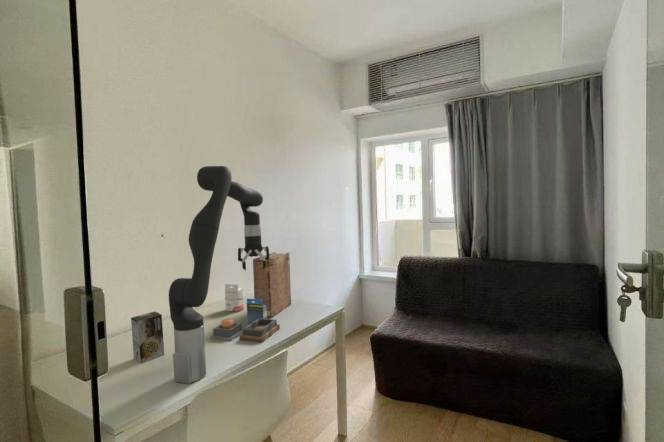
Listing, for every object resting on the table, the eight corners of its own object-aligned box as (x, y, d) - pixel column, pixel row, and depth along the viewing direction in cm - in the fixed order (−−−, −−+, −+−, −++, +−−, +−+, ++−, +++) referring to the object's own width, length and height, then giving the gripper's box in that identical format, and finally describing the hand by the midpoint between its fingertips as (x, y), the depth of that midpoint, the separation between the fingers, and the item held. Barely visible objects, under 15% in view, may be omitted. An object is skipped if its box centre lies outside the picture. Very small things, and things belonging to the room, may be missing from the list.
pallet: (262, 342, 145) (262, 331, 144) (239, 339, 148) (239, 329, 148) (279, 328, 160) (279, 319, 160) (258, 326, 163) (258, 317, 163)
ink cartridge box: (244, 309, 192) (242, 282, 192) (239, 311, 188) (238, 284, 187) (230, 308, 195) (229, 282, 194) (225, 310, 190) (224, 284, 189)
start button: (229, 330, 151) (229, 322, 151) (219, 329, 152) (218, 321, 152) (236, 326, 156) (235, 318, 156) (226, 325, 157) (225, 318, 157)
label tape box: (267, 322, 170) (266, 297, 169) (263, 324, 166) (262, 299, 165) (251, 320, 172) (250, 296, 172) (247, 323, 168) (246, 298, 168)
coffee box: (157, 350, 139) (155, 311, 138) (164, 354, 135) (162, 313, 134) (132, 358, 132) (130, 317, 131) (140, 363, 128) (137, 320, 127)
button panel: (231, 340, 147) (231, 331, 147) (209, 338, 151) (209, 329, 151) (245, 331, 158) (245, 322, 158) (224, 329, 161) (224, 320, 161)
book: (276, 303, 202) (274, 252, 200) (291, 304, 199) (289, 252, 198) (254, 317, 178) (252, 259, 176) (271, 318, 175) (269, 259, 173)
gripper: (236, 236, 156) (238, 272, 157) (268, 234, 158) (270, 269, 159) (237, 234, 163) (239, 268, 164) (268, 233, 166) (270, 266, 167)
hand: (254, 269), depth 162 cm, fingers open, 8 cm apart
